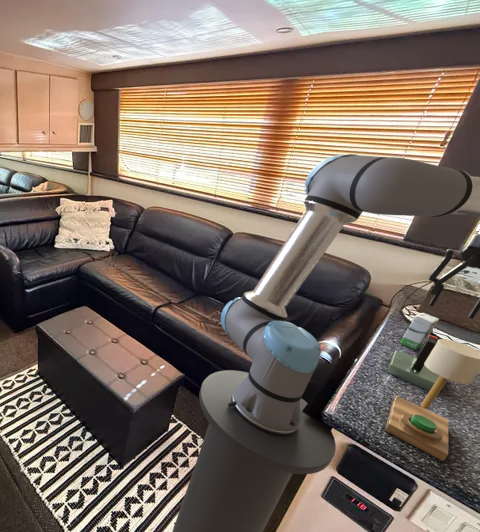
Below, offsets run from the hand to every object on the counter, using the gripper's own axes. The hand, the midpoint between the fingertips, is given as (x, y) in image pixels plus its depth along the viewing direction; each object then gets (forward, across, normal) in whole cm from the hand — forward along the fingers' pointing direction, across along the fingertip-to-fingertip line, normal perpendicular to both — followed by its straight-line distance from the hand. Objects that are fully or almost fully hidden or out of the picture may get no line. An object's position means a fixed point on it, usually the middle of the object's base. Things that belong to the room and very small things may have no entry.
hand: (450, 310), depth 93 cm
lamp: (+19, -2, +27) cm, 33 cm away
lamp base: (+23, -2, +32) cm, 40 cm away
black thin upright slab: (+20, 0, 0) cm, 20 cm away
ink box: (+23, +2, -27) cm, 36 cm away
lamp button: (+20, -2, +37) cm, 42 cm away
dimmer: (+23, 0, 0) cm, 23 cm away
